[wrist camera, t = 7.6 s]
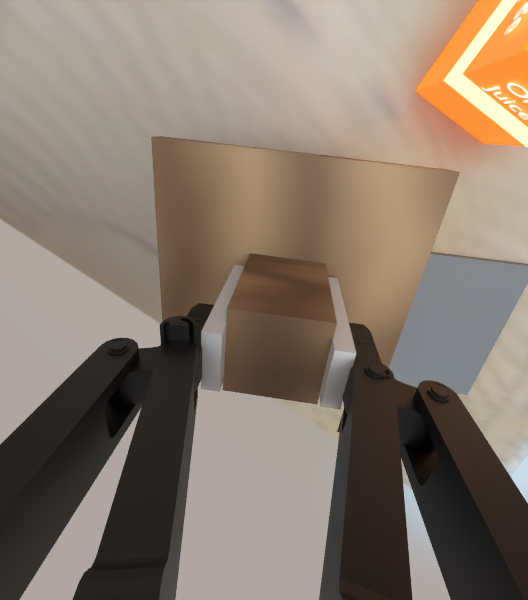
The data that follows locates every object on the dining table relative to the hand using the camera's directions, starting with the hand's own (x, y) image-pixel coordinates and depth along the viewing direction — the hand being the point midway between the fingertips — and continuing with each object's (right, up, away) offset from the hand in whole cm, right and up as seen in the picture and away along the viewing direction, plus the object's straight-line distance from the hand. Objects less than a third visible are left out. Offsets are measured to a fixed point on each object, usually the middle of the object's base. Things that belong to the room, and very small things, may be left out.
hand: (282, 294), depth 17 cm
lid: (0, +1, +1) cm, 2 cm away
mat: (+16, -3, +19) cm, 25 cm away
